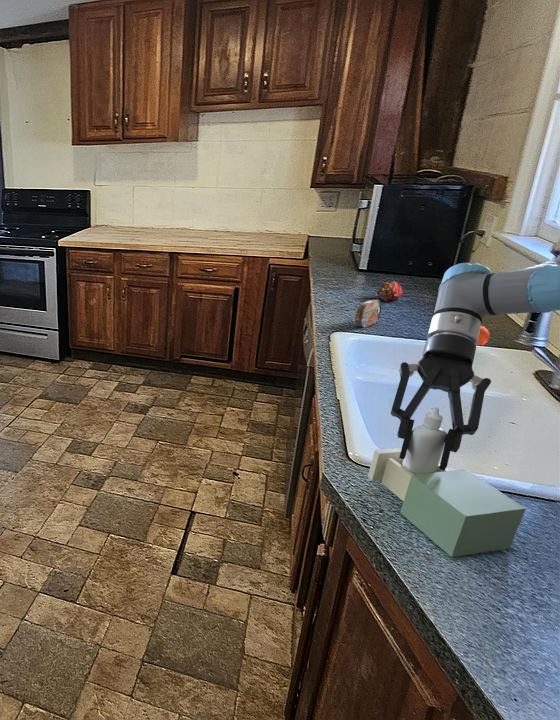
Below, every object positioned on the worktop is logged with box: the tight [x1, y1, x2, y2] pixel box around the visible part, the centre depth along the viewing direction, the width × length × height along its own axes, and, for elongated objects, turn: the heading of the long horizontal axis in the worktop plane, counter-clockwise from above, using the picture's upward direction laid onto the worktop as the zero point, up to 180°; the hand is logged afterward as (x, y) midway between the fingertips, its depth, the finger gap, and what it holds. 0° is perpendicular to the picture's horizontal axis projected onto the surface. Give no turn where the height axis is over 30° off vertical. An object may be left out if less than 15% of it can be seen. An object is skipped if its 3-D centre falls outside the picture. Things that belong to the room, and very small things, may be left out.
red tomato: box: [477, 325, 490, 346], centre depth 166 cm, size 8×7×7 cm
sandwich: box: [354, 299, 382, 329], centre depth 184 cm, size 15×3×8 cm, turn 129°
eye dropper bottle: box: [402, 407, 448, 474], centre depth 91 cm, size 4×6×12 cm
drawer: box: [367, 446, 451, 502], centre depth 95 cm, size 11×10×6 cm
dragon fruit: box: [376, 281, 403, 302], centre depth 214 cm, size 8×8×12 cm
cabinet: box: [399, 468, 527, 558], centre depth 85 cm, size 11×11×8 cm
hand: (422, 461), depth 89 cm, fingers closed on eye dropper bottle, 5 cm apart
